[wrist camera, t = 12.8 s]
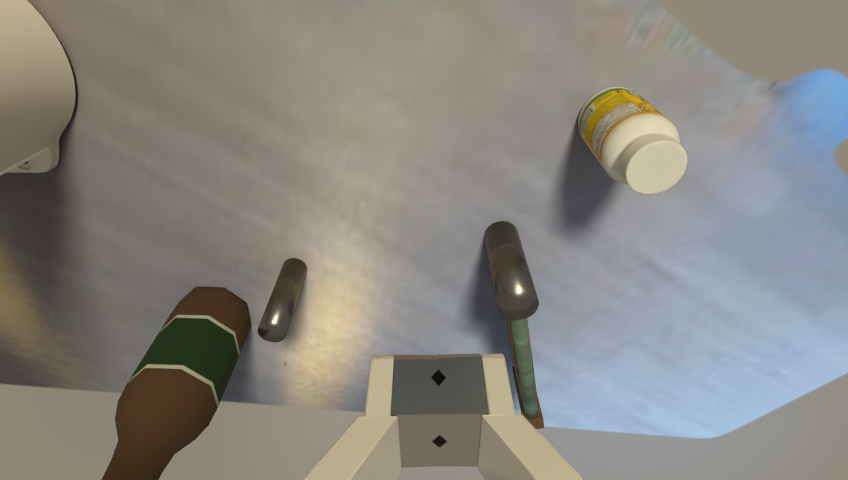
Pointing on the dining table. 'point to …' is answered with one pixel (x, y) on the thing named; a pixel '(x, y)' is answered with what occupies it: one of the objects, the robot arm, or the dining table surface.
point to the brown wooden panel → (524, 372)
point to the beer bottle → (178, 382)
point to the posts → (505, 266)
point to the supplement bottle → (632, 140)
